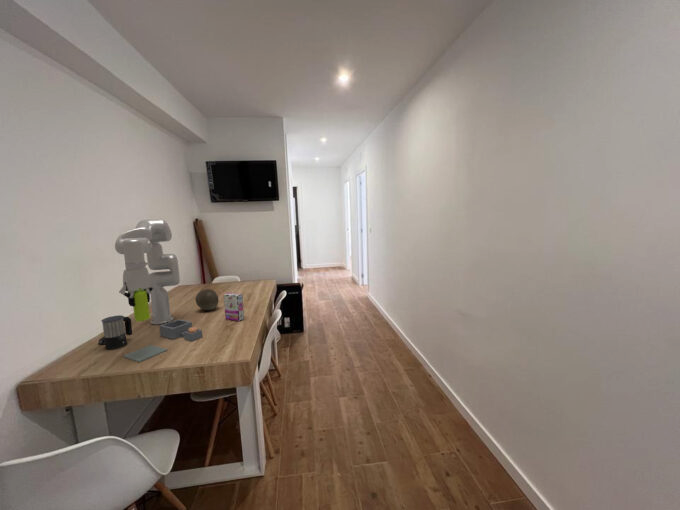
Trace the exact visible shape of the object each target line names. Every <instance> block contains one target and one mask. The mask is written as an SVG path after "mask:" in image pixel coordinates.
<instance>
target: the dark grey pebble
mask: <svg viewBox="0 0 680 510" xmlns="http://www.w3.org/2000/svg"><path fill="white" fill-rule="evenodd" d="M195 303H196V306H198V308H200V309H201V310H204V311H212V310H215V309H216V308H217V307H218V305H219V296H218V294H217V293H216V291H215V290H213V289H210V288H207V289H202V290H200V291H199V292H197V293H196V295H195Z"/></svg>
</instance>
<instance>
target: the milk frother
mask: <svg viewBox="0 0 680 510" xmlns="http://www.w3.org/2000/svg"><path fill="white" fill-rule="evenodd" d="M100 321H101V322H102V330H103V335H104V336H102V337H101V338H100V339H99V340H98V344H99V345H105V347H104V349H105V350H109V351H110V350H111V351H113V350H117V349H120V348H123V347H125V346H127V344H128V341H127V336H131V335H133V327H132V324H133V323H132V319H131V318H130V317H129V316H124V315H119V314H118V315H114V316H108V317H106V318H103V319H101V320H100Z"/></svg>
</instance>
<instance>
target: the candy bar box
mask: <svg viewBox="0 0 680 510" xmlns="http://www.w3.org/2000/svg"><path fill="white" fill-rule="evenodd" d="M223 300H224V301H223V303H224V313H225V314H224V315H225V316H224V317H225V320H226V319H229V320H228V321H233V320H236V321H235V322H240V320H241V321H243V320H245V315H244V314H245V313H244V312H245V310H244V297H243V293H232V292H228V293H225V294H223ZM242 319H243V320H242Z"/></svg>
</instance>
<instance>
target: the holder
mask: <svg viewBox="0 0 680 510" xmlns="http://www.w3.org/2000/svg"><path fill="white" fill-rule="evenodd" d="M191 327H193V322H192V321H190V320H185V319H179V318H178V319H175V320H172V321H170V322H168V323H164V324H159V333H160V334H159V335H160V337H162V336H163V337H162V338H165V337H166V339H169V338H170V340H173V339H174V340H176V338H177V339H179V338H183V339H184V340H185V339H186V340H185V341H189V342H194V341H196V339H197V340H199V339H201V338H203V332H202V331H203V330H202V329H199V328H197V331H196V332H194V333H189V330H188V329H189V328H191ZM178 337H179V338H178ZM198 338H199V339H198Z"/></svg>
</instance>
